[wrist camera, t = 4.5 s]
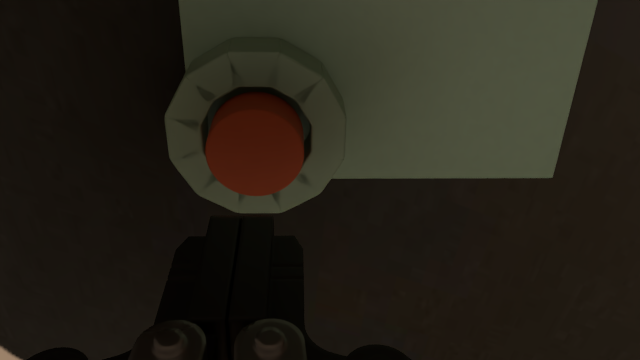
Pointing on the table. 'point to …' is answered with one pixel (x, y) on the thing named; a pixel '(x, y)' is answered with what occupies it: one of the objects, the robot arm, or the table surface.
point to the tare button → (255, 144)
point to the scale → (384, 86)
